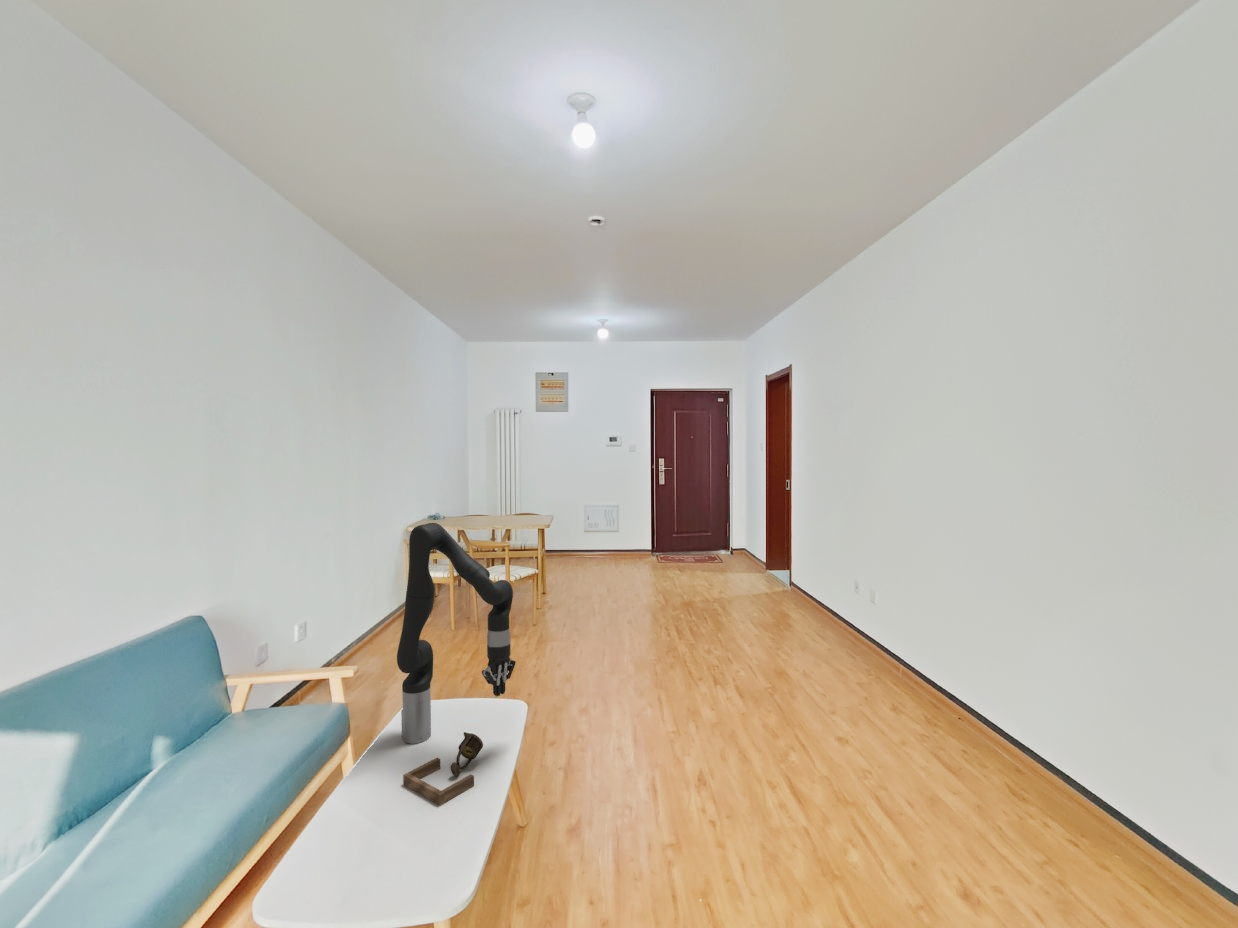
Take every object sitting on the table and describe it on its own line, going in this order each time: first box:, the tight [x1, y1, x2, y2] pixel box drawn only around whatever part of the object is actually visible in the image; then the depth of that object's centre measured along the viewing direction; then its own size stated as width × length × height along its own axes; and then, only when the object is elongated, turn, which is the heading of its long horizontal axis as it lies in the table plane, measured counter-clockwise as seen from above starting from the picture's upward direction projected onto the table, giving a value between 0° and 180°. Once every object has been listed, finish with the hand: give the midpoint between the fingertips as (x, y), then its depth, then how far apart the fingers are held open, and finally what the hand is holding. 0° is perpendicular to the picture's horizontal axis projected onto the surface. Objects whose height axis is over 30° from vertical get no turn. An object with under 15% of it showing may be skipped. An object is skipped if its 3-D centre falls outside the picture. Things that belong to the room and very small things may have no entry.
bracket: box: [402, 757, 475, 806], centre depth 173 cm, size 18×12×3 cm
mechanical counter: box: [450, 731, 484, 777], centre depth 182 cm, size 7×13×10 cm, turn 174°
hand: (499, 694), depth 192 cm, fingers closed
